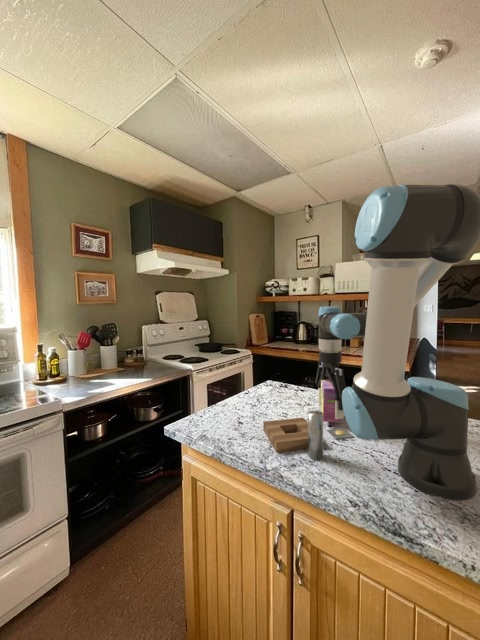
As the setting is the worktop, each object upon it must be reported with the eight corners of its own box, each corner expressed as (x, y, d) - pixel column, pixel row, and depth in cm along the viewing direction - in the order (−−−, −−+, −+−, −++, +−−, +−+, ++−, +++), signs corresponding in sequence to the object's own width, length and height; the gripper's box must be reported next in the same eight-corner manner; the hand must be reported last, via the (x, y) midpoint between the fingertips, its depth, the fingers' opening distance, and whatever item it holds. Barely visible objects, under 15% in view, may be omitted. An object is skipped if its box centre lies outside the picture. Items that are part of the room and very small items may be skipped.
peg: (325, 458, 76) (325, 415, 75) (312, 460, 75) (311, 416, 74) (319, 451, 80) (318, 409, 79) (305, 452, 79) (305, 411, 78)
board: (322, 446, 82) (322, 436, 82) (276, 452, 79) (276, 442, 79) (303, 426, 96) (303, 417, 95) (263, 430, 93) (263, 421, 93)
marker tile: (354, 437, 87) (354, 435, 87) (336, 439, 86) (336, 437, 86) (343, 428, 93) (343, 427, 93) (326, 430, 92) (326, 429, 92)
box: (340, 422, 94) (341, 388, 93) (322, 421, 95) (323, 388, 94) (336, 409, 104) (336, 378, 103) (320, 408, 105) (320, 378, 104)
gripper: (360, 356, 87) (360, 424, 88) (323, 345, 110) (324, 399, 112) (338, 358, 85) (338, 427, 87) (305, 346, 109) (306, 400, 110)
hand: (330, 411), depth 99 cm, fingers closed on box, 12 cm apart
